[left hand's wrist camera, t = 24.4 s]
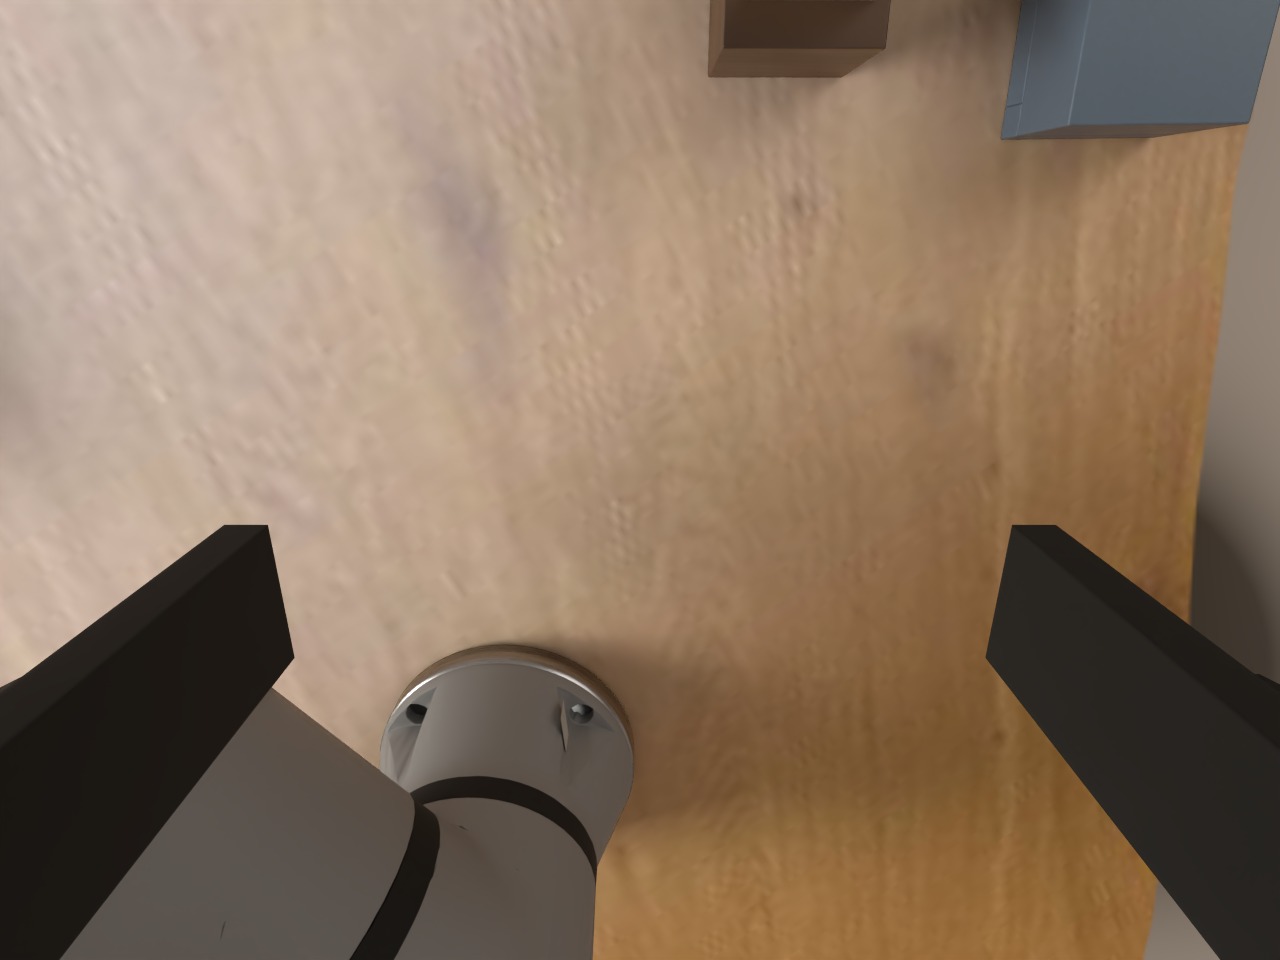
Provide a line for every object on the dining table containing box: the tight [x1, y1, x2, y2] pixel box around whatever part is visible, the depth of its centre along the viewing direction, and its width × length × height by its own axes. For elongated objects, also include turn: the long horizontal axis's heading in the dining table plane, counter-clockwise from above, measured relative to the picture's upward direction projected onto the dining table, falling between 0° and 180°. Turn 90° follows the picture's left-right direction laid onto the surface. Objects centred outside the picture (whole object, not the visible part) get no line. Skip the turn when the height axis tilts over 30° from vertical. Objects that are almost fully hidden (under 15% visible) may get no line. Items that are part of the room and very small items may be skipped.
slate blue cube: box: [1001, 0, 1280, 140], centre depth 29 cm, size 7×7×6 cm
